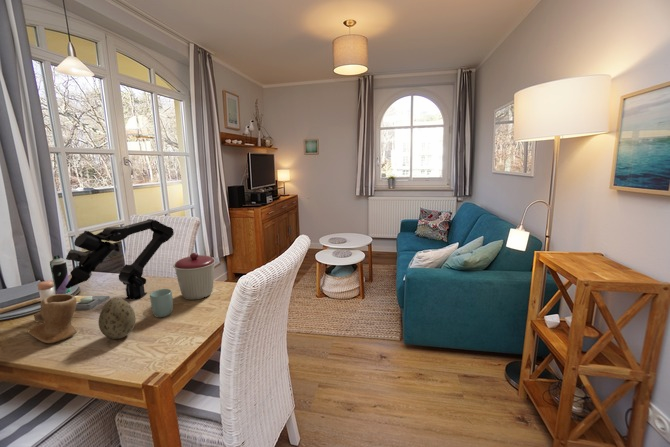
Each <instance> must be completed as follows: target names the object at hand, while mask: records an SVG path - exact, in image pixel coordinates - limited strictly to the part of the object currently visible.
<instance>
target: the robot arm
mask: <svg viewBox="0 0 670 447" xmlns="http://www.w3.org/2000/svg"><path fill="white" fill-rule="evenodd" d="M146 230H150V231H151V232H153V233H152V237H151V238H152V239H151V240H150V241H149V243H147V244H146V246H145V248H143V250H142V251H141V253H139V255H138V256H137V257H136V259H135V260H134V261H133V263H131V264H124V266H123V267H122V269H121V270H119V271H118V272H119V274H118V280H119V282H121V283H122V284H123V285H125V295H126V297H125V298H124V300H140V299H141V298H143V297H145V296H146V295H147V294H148V292H146V291H145V285H146V283H147V279H146V278H145V277H143V273H144V268H145V267H146V265H147V264H148V263H149V261H150V260H151V259H152V257H154V255H155V253H156V252H157V251H158V250H159V248H160V247H161V246H162V244H164V243H166V242H168V241H170V239H172V237H173V236H174V234H175V232H174V229H173V227H172V226H168V225H166V224H163V223H162V222H160V221H158V220H156V219H146V220H143V221H139V222H135V223H132V224H131V223H130V224H128V225H124V226H109V227H105V228H103V230H102V231H100V232H98V233H96V234H94V233H93V232H91V231H89V230H84V231H83V232H82V233H81V234H79V235H78V236H77V237H76V238H75V239H74V243H73V244H74V246H75V247H78V248H81V249H83V250H86V251H88V252H85V251H81V250H78V249H69V251H68V252H67V255H66V258H65V260H66V261H73V262H78V265H77V266H75V267H74V268H73V269H72V270H71V271H70V275H71V277H70V278H69V282H68V284H67V285H66V288H67V289H68V288H71V289H72V287H75V286H77V285H79V284H82V283H84V282H87V281H89V279H90V278H92V275H93V274H92V272H94V271H95V270H96V269H97V268H98V267H99V266H100V265H101V264H102V263H103V262H104V261H105V260H106V258H108V257H109V256H110V255H111V254H112V252H114V251H115V252H120V245H119V243H118V242H121V241H123V240H125V239H126V238H127V237H129V236H131V235H134V234H136V233H140V232H144V231H146ZM112 242H115V243H112Z"/></svg>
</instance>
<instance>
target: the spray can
mask: <svg viewBox="0 0 670 447" xmlns="http://www.w3.org/2000/svg"><path fill="white" fill-rule="evenodd" d="M49 266H50V267H49V268H50V272H51V273H50V274H51V276H52V281H53V284H54V291H55V294H66V293H68V292H70V291H71V292H72V287H71V288H68V289H67V288H66V285H67V284H68V282H69V281H70V276H69V272H68V265H67V260H66V258H62V257H61V256H60V255H59V254H58V255H54V256H53V258H52V260H50V261H49Z"/></svg>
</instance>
